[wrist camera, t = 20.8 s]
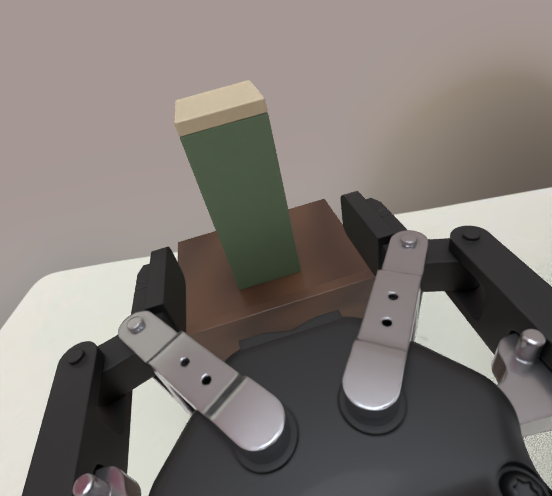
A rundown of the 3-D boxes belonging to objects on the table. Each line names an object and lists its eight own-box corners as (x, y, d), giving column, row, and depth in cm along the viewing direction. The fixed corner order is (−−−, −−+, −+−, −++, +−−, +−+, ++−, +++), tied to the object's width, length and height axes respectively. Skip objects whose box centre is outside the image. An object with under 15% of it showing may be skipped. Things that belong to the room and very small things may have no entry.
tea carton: (285, 235, 30) (249, 79, 22) (301, 271, 26) (264, 97, 18) (231, 252, 30) (175, 100, 22) (239, 290, 26) (173, 122, 18)
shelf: (334, 278, 40) (322, 178, 32) (390, 381, 30) (393, 271, 21) (214, 316, 40) (168, 223, 31) (226, 435, 29) (161, 343, 20)
